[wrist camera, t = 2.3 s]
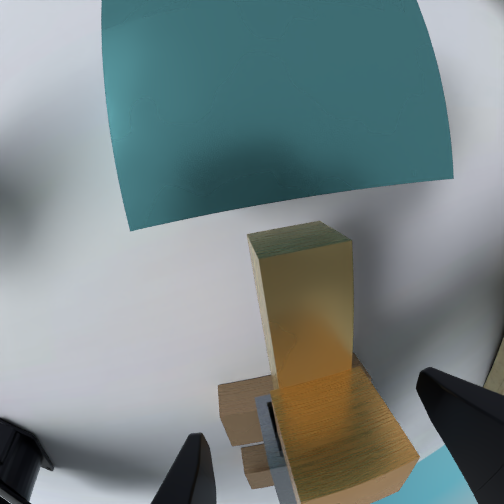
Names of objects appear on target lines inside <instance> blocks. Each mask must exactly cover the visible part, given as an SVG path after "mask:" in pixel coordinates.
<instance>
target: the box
mask: <svg viewBox="0 0 504 504" xmlns="http://www.w3.org/2000/svg"><path fill="white" fill-rule="evenodd" d="M483 388H486V389H488V390H491V391H494V392H496V393H499V394H502V395H504V337H503V340H502V343H501V346H500V348H499V351H498V354H497V356H496V359H495V361H494V364H493V366H492V369H491V371H490V373H489V375H488V378H487V380H486V382H485V384H484V387H483Z"/></svg>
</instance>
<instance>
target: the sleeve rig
mask: <svg viewBox="0 0 504 504" xmlns="http://www.w3.org/2000/svg"><path fill="white" fill-rule="evenodd" d="M101 25H102V56H103V72H104V84H105V94H106V104H107V112H108V120H109V127H110V134H111V140H112V147H113V153H114V158H115V164H116V169H117V174H118V180H119V184H120V189H121V194H122V198H123V203H124V207H125V212H126V216H127V220H128V224H129V228H130V231H134V230H138V229H143V228H147V227H151V226H156V225H160V224H165V223H170V222H174V221H179V220H184V219H189V218H193V217H198V216H203V215H208V214H213V213H218V212H224V211H229V210H234V209H239V208H245V207H250V206H256V205H261V204H267V203H273V202H279V201H285V200H291V199H297V198H303V197H309V196H316V195H322V194H329V193H336V192H343V191H350V190H357V189H365V188H372V187H380V186H388V185H396V184H405V183H414V182H423V181H433V180H443V179H454V176H453V160H452V148H451V138H450V130H449V122H448V115H447V109H446V103H445V97H444V92H443V87H442V82H441V78H440V74H439V69H438V65H437V61H436V58H435V54H434V50H433V47H432V43H431V40H430V37H429V34H428V31H427V28H426V25H425V22H424V19H423V16H422V13H421V11H420V8H419V5H418V3H417V0H102V13H101ZM358 366H360V367H361V368H362V370H363V371H364V373H365V374H366V376H367V377H368V379H369V380H370V382H371V377H370V375H369V374H368V372H367V371H366V369H365V368H364V367H363V365H362V364H361V362H360V361H359V359H358V358H357V357H356V355H355V354H354V353H352V368H355V367H358ZM271 390H274V388H273V382H272V376H271V375H269V376H265V377H260V378H255V379H250V380H245V381H240V382H234V383H228V384H222V385H218V396H219V412H220V418H221V421H222V423H223V426H224V428H225V430H226V433H227V435H228V438H229V440H230V442H231V445H232V446H238V445H244V444H250V443H255V442H261V441H264V444H261V445H256V446H250V447H244V448H241V452H242V459H243V465H244V472H245V476H246V478H247V480H248V482H249V484H250V486H251V488H252V489H257V488H263V487H269V486H275V489H276V492H277V495H278V499H279V502H280V504H297V502H296V498H295V495H294V491H293V487H292V484H291V480H290V476H289V473H288V469H287V465H286V462H285V458H284V454H283V451H282V447H281V443H280V439H279V436H278V432H277V427H276V421H275V416H274V411H273V406H272V400H271V395H270V391H271Z"/></svg>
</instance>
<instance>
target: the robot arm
mask: <svg viewBox="0 0 504 504" xmlns="http://www.w3.org/2000/svg"><path fill="white" fill-rule="evenodd" d="M416 390H417V393H418V395H419V397H420V399H421V401H422V403H423V405H424V407H425V409H426V411H427V414H428V416H429V418H430V420H431V422H432V423H433V425H434V427H435V428H436V430H437V432H438V433H439V435H440V437H441V438H442V440H443V442H444V443H445V445H446V447H447V448H448V450H449V451H450V453H451V455H452V457H453V458H454V460H455V462H456V463H457V465H458V467H459V469H460V471H461V472H462V474H463V476H464V478H465V480H466V481H467V483H468V485H469V487H470V489H471V491H472V492H473V494H474V496H475V498H476V500H477V502H478V504H504V395H502V394H499V393H496V392H494V391H491V390H488V389H486V388H483V387H481V386H478V385H475V384H473V383H470V382H467V381H465V380H462V379H460V378H457V377H455V376H452V375H450V374H447V373H445V372H442V371H440V370H437V369H435V368H432V367H428V368H426V369H424V370H422V371H421V372H420V374H419V377H418V381H417V385H416ZM40 467H42V468H45V469H47V470H50V471H53V470H54V467H53V465H52V464H51V462H50V460H49V459H48V457H47V456H46V454H45V452H44V451H43V449H42V447H41V445H40V444H39V442H38V440H37V438H36V437H35V436H34V435H32V434H30V433H28V432H26V431H23V430H21V429H19V428H17V427H15V426H13V425H10V424H8V423H6V422H4V421H2V420H0V504H11V503H12V504H31V503H30V502H29V500H30V497H31V494H32V491H33V487H34V484H35V481H36V478H37V475H38V473H39V470H40ZM1 496H2V497H3V498H4V499H3V498H2V497H1ZM5 499H6V500H7V501H6V500H5ZM8 501H9V502H10V503H9V502H8ZM151 504H216V485H215V478H214V472H213V466H212V459H211V452H210V447H209V445H208V443H207V441H206V439H205V437H204V435H203V434H202V433H191V434H189V436H188V437H187V439H186V441H185V443H184V445H183V447H182V448H181V450H180V452H179V454H178V456H177V458H176V459H175V461H174V463H173V465H172V467H171V469H170V470H169V472H168V474H167V476H166V478H165V479H164V481H163V483H162V485H161V487H160V488H159V490H158V492H157V494H156V495H155V497H154V499H153V501H152V502H151Z"/></svg>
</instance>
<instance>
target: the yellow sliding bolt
mask: <svg viewBox="0 0 504 504" xmlns="http://www.w3.org/2000/svg"><path fill="white" fill-rule="evenodd" d="M247 238H248V244H249V250H250V256H251V262H252V267H253V273H254V279H255V285H256V290H257V296H258V302H259V308H260V313H261V319H262V325H263V331H264V336H265V342H266V348H267V354H268V359H269V365H270V371H271V376H272V382H273V388H274V390H271V391H270V395H271V400H272V406H273V411H274V416H275V421H276V427H277V432H278V436H279V439H280V443H281V447H282V451H283V454H284V458H285V462H286V465H287V469H288V473H289V476H290V480H291V484H292V487H293V491H294V495H295V498H296V502H297V504H370V503H373V502H375V501H377V500H380V499H382V498H384V497H386V496H389V495H391V494H393V493H395V492H398V491H399V490H400V488H401V487H402V485H403V484H404V482H405V481H406V479H407V478H408V476H409V475H410V473H411V471H412V470H413V468H414V466H415V465H416V463H417V461H418V460H419V458H420V456H419V455H418V453H417V451H416V450H415V448H414V447H413V445H412V444H411V442H410V441H409V439H408V438H407V436H406V434H405V433H404V431H403V430H402V428H401V427H400V425H399V424H398V422H397V421H396V419H395V418H394V416H393V415H392V413H391V412H390V410H389V409H388V407H387V406H386V404H385V402H384V401H383V399H382V398H381V396H380V395H379V394H378V392H377V391H376V389H375V388H374V386H373V385H372V383H371V382H370V380H369V379H368V377H367V376H366V374H365V373H364V371H363V370H362V368H361V367H360V366H358V367H355V368H352V351H353V316H354V287H353V252H352V240H350V239H349V238H347V237H346V236H344V235H342V234H341V233H339V232H337V231H336V230H334V229H332V228H331V227H329V226H327V225H326V224H324V223H322V222H321V221H316V222H310V223H305V224H299V225H294V226H288V227H283V228H277V229H272V230H267V231H261V232H256V233H251V234H247Z"/></svg>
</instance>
